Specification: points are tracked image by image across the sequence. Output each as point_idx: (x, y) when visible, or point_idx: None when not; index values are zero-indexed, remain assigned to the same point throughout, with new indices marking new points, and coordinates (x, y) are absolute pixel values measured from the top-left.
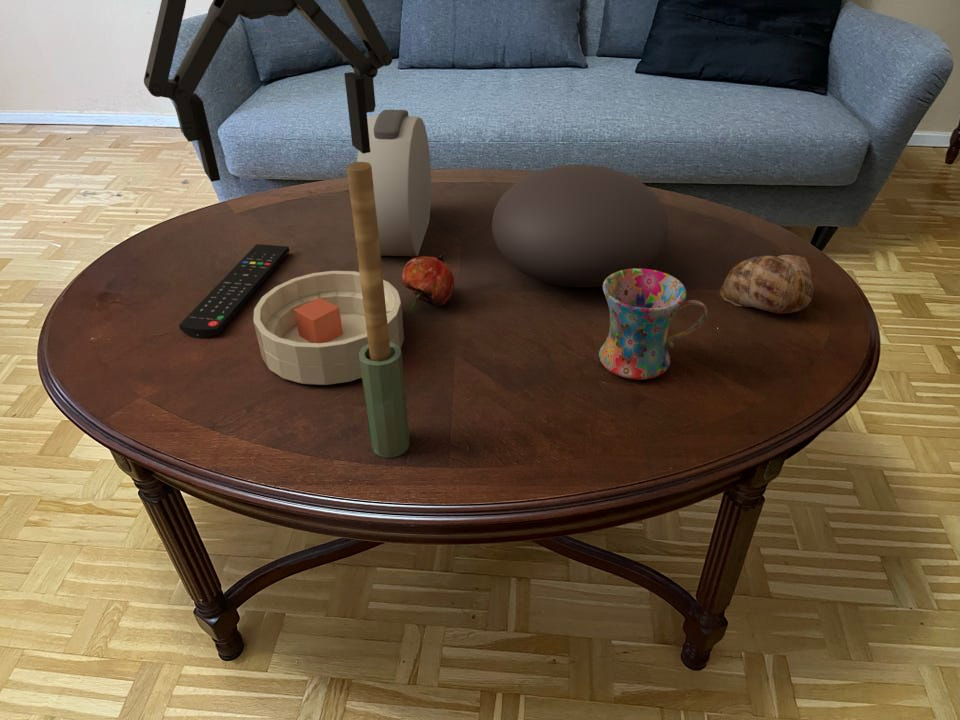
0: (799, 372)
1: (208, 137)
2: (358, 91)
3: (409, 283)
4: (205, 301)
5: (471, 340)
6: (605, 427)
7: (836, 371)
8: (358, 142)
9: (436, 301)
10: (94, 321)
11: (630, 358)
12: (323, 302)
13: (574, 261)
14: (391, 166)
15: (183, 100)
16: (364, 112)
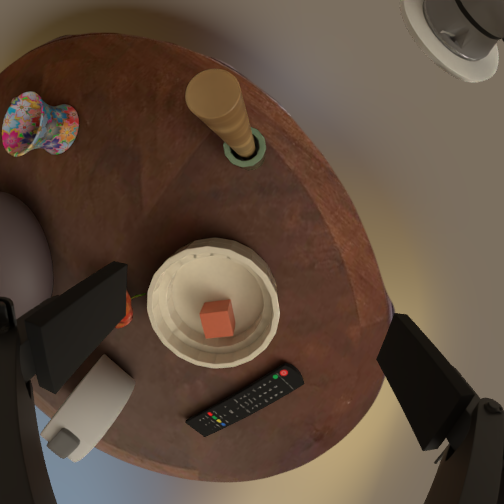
0: (19, 77)
1: (429, 352)
2: (54, 311)
3: (130, 304)
4: (273, 399)
5: (123, 227)
6: (121, 83)
7: (10, 70)
8: (119, 287)
9: None
10: (337, 418)
11: (65, 113)
12: (206, 329)
13: (23, 213)
14: (80, 410)
15: (487, 399)
16: (75, 288)
